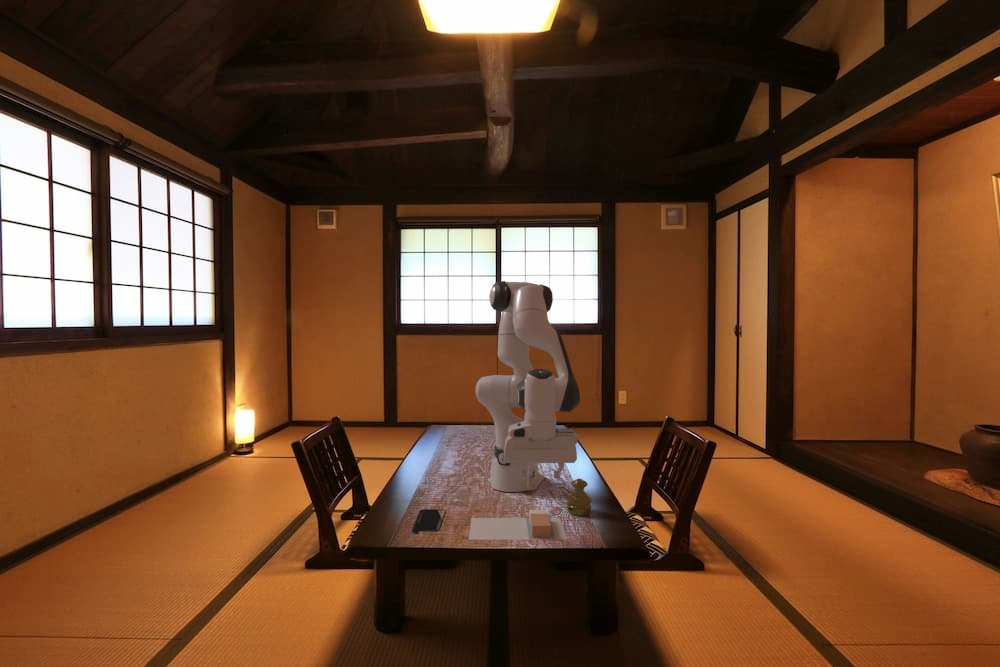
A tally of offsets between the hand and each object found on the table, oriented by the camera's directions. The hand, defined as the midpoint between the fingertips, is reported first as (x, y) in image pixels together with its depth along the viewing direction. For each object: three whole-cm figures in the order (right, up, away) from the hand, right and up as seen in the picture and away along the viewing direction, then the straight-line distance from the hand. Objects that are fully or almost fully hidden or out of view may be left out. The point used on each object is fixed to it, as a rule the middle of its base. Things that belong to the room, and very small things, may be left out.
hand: (539, 478), depth 137 cm
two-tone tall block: (0, -14, 0) cm, 14 cm away
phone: (-32, -15, +6) cm, 35 cm away
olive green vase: (+13, -15, +14) cm, 24 cm away
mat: (-6, -15, 0) cm, 16 cm away
